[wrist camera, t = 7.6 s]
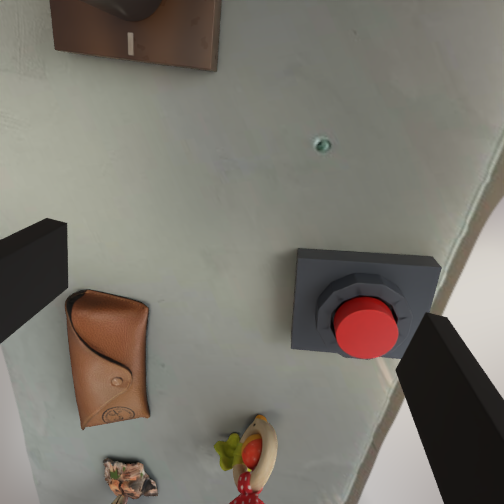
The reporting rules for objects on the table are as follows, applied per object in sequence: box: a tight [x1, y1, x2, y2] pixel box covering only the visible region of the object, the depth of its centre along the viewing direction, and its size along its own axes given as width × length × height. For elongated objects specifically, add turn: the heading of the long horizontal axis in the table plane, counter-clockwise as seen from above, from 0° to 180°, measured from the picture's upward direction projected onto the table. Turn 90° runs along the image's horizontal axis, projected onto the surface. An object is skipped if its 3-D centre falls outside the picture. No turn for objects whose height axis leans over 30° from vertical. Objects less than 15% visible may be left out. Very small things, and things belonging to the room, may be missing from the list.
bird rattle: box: [214, 415, 277, 504], centre depth 38 cm, size 6×11×9 cm
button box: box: [291, 248, 442, 360], centre depth 32 cm, size 12×10×4 cm
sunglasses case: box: [65, 290, 150, 430], centre depth 39 cm, size 18×7×7 cm, turn 174°
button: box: [334, 297, 398, 359], centre depth 29 cm, size 5×5×2 cm
